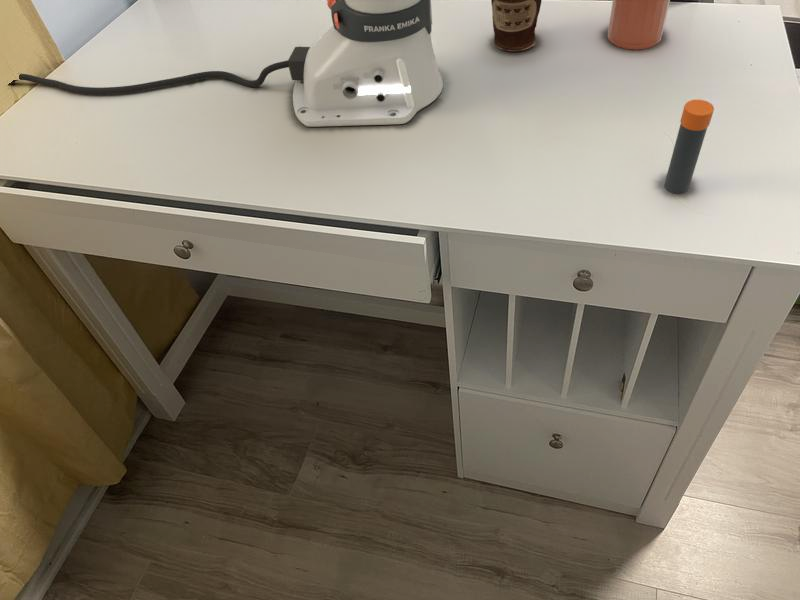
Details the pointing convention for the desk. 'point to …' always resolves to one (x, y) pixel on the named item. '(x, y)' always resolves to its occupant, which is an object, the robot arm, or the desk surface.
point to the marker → (688, 145)
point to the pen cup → (637, 23)
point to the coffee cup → (515, 23)
